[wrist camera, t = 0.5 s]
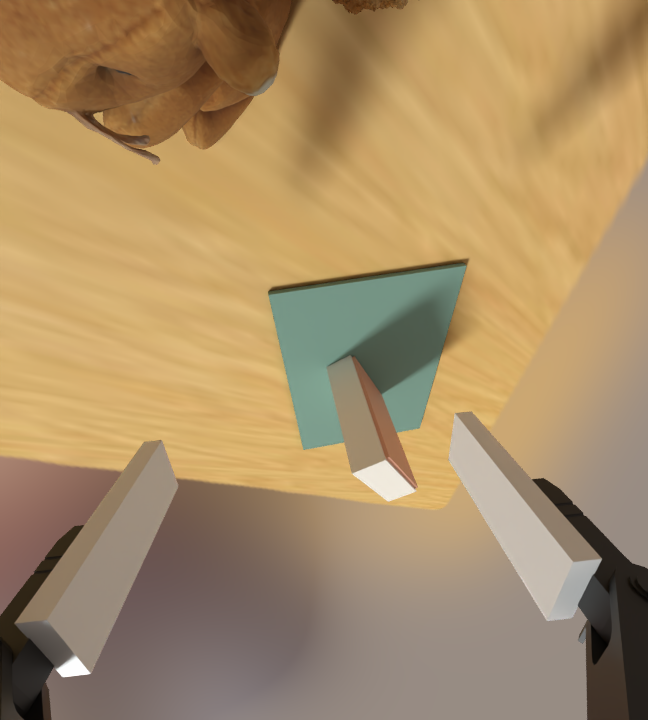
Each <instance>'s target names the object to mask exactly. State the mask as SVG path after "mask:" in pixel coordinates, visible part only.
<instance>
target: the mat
mask: <svg viewBox="0 0 648 720" xmlns="http://www.w3.org/2000/svg"><path fill="white" fill-rule="evenodd" d="M465 270H466V265H465V264H464V263H459V264H452V265H445V266H438V267H431V268H425V269H418V270H411V271H404V272H397V273H391V274H384V275H377V276H370V277H364V278H357V279H350V280H343V281H336V282H330V283H323V284H316V285H309V286H302V287H296V288H289V289H282V290H275V291H268V294H269V299H270V304H271V308H272V312H273V317H274V321H275V326H276V330H277V335H278V339H279V343H280V348H281V352H282V357H283V361H284V365H285V370H286V374H287V379H288V383H289V388H290V392H291V396H292V401H293V405H294V410H295V414H296V419H297V423H298V427H299V432H300V436H301V441H302V445H303V450H306V449H311V448H316V447H322V446H327V445H333V444H338V443H343V442H344V439H343V434H342V430H341V426H340V422H339V418H338V414H337V410H336V406H335V402H334V397H333V393H332V389H331V385H330V381H329V377H328V373H327V369H326V367H328V366H330V365H332V364H333V363H335V362H337V361H339V360H341V359H343V358H345V357H347V356H349V355H351V356H352V357H354V356H355V358H356V359H357V360H358V362H359V363H360V365H361V366H362V367H363V369H364V370H365V372H366V373H367V375H368V376H369V377H370V379H371V380H372V382H373V383H374V385H375V386H376V387H377V389H378V390H379V392H380V393H381V394H382V397H383V399H384V402H385V404H386V407H387V410H388V412H389V415H390V417H391V420H392V422H393V425H394V427H395V430H396V433H397V432H402V431H407V430H413V429H418V428H420V425H421V422H422V418H423V415H424V411H425V408H426V404H427V401H428V398H429V394H430V391H431V387H432V384H433V380H434V377H435V373H436V370H437V366H438V363H439V360H440V356H441V353H442V349H443V346H444V342H445V339H446V335H447V332H448V328H449V325H450V322H451V318H452V315H453V311H454V308H455V304H456V301H457V297H458V294H459V290H460V287H461V284H462V280H463V277H464V273H465Z"/></svg>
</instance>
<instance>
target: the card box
mask: <svg viewBox="0 0 648 720" xmlns="http://www.w3.org/2000/svg"><path fill="white" fill-rule="evenodd" d="M326 369H327V373H328V377H329V381H330V385H331V389H332V393H333V397H334V402H335V406H336V410H337V414H338V418H339V422H340V426H341V430H342V434H343V439H344V443H345V447H346V451H347V455H348V459H349V463H350V467H351V472H352V474H353V475H354V476H356V477H357V478H358V479H360V480H361V481H362V482H363V483H365V484H366V485H367V486H369V487H370V488H371V489H373V490H374V491H375V492H376V493H378V494H379V495H380V496H382V497H383V498H384V499H386V500H387V501H388V502H389V501H391V500H394V499H397V498H400V497H402V496H405V495H408V494H410V493H413V492H416V490H415V488H417V484H416V481H415V479H414V476H413V474H412V471H411V469H410V466H409V463H408V461H407V458H406V456H405V453H404V451H403V448H402V445H401V443H400V440H399V438H398V435H397V433H396V430H395V427H394V425H393V422H392V420H391V417H390V415H389V412H388V410H387V407H386V404H385V402H384V399H383V397H382V394H381V393H380V392H379V390H378V389H377V387H376V386H375V385H374V383H373V382H372V380H371V379H370V377H369V376H368V375H367V373H366V372H365V370H364V369H363V367H362V366H361V365H360V363H359V362H358V360H357V359H356V358H355V356H354V357H352V356H351V355H349V356H347V357H345V358H343V359H341V360H339V361H337V362H335V363H333V364H332V365H330V366H328V367H326Z"/></svg>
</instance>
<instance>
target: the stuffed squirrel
mask: <svg viewBox="0 0 648 720" xmlns="http://www.w3.org/2000/svg"><path fill="white" fill-rule="evenodd" d="M333 1H334V2H335V4H337V3H340V4H343V6H344V7H345V9H346V10H348V12H349V13H350V12H351V13H354V14H357V13H358V12H361V10H362V9H363V8H365V9H371V10H373V11H375V10H376V9H378V8H381V9H384V8H388V7H390V6H391V7H392V8H393V7H396V8H397V9H403V7H404V6H406V4H407V0H333ZM291 2H292V0H0V80H1V81H3V82H4V83H6V84H7V85H8V86H10V87H12V88H13V89H15V90H16V91H18V92H20V93H21V94H23V95H25V96H28V97H31V98H32V99H33V100H35V101H36V102H37V103H38V104H40V105H41V106H44V107H46V108H48V109H56V110H61V111H65V112H68V113H69V114H71V115H72V116H74V117H75V118H76V119H77V120H78V121H79V122H81V123H82V124H83V125H84V126H85V127H86V128H88V129H90V130H92V131H95V132H98V133H100V134H101V135H103V136H105V137H106V138H108V139H110V140H112V141H113V142H115V143H117V144H119V145H121V146H122V147H124V148H125V149H127V150H129V151H132V152H134V153H136V154H138V155H140V156H143V157H145V158H147V159H149V160H151V161H152V163H153V164H156V165H157V164H158V163H159V162H160V159H159V157H158V156H156V155H154V154H152V153H150V152H148V151H146V150H141V149H137V148H147V147H151V146H154V145H156V144H159V143H161V142H163V141H165V140H166V139H168V138H170V137H171V136H173V135H174V134H175V133H177V132H178V131H179V130H180V129H181V128H183V131H184V133H185V135H186V138H187V140H188V141H189V143H190V144H192V145H193V146H196V147H198V148H200V149H208V148H209V147H211V146H212V145H213V144H215V143H216V142H217V141H218V140H219V139H220V138H221V137H222V136H223V135H224V134H225V133H226V132H227V131H228V130H229V129H230V128H231V126H232V125H233V124H234V122H235V121H236V120H237V119H238V118H239V116H240V115H241V114H242V113H243V111H244V110H245V109H246V108H247V106H248V105H249V103H250V102H251V101H252V99H253V97H254V96H256V95H259V94H262V93H264V92H265V91H266V90H267V89H268V88H269V87H270V86H271V85H272V84H273V82H274V80H275V77H276V75H277V71H278V65H279V52H278V50H277V49H276V46H277V44H278V41H279V39H280V36H281V34H282V31H283V28H284V26H285V23H286V20H287V18H288V15H289V11H290V7H291ZM102 111H103V122H104V126H105V127H104V126H103V125H101V124H100V123H99V122H98V121H97V120H96V119H95V118H94V116H93V114H95V113H97V112H102ZM133 147H134V148H133Z"/></svg>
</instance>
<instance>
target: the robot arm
mask: <svg viewBox="0 0 648 720" xmlns="http://www.w3.org/2000/svg"><path fill="white" fill-rule="evenodd" d="M448 460H449V462H450V463H451V465H452V466H453V468H454V470H455V471H456V473H457V475H458V476H459V478H460V480H461V481H462V483H463V484H464V486H465V488H466V489H467V491H468V493H469V494H470V496H471V497H472V499H473V501H474V502H475V504H476V506H477V507H478V509H479V511H480V512H481V514H482V515H483V517H484V519H485V520H486V522H487V524H488V525H489V527H490V529H491V530H492V532H493V533H494V535H495V537H496V538H497V540H498V542H499V543H500V545H501V547H502V548H503V550H504V552H505V553H506V554H507V556H508V558H509V560H510V561H511V563H512V565H513V566H514V568H515V569H516V571H517V573H518V574H519V576H520V577H521V579H522V581H523V582H524V584H525V586H526V587H527V589H528V591H529V592H530V594H531V596H532V597H533V599H534V601H535V602H536V604H537V605H538V607H539V609H540V610H541V612H542V614H543V615H544V617H545V618H546V620H547V621H551V620H560V619H569V618H573V615H574V614H575V612H576V609H577V608H578V606H579V608H580V609H581V611H582V612H583V613H584V615H585V616H586V618H587V619H588V620H587V622H586V624H585V626H584V627H583V629H582V631H581V633H580V635H579V639H578V641H579V642H581V643H583V642H584V640H585V639H586V670H587V720H648V569H647V568H645V567H642V566H639V565H635V564H632V563H631V562H630V561H629V560H628V559H627V558H626V557H625V556H624V555H623V554H622V553H621V552H620V551H619V550H618V549H617V548H616V547H615V546H614V545H613V544H612V543H611V542H610V541H609V539H608V538H607V537H606V536H604V534H603V533H602V532H601V531H600V530H599V529H598V528H597V527H596V526H595V525H594V524H593V523H592V522H591V521H590V520H589V519H588V518H587V517H586V516H584V515H583V512H582V511H581V510H580V509H579V508H578V507H577V506H576V505H573V503H572V501H571V500H570V499H569V498H568V497H567V496H566V495H565V494H564V493H563V492H562V491H561V490H560V489H559V488H558V487H556V486H555V485H553V484H552V483H550V482H549V481H547V480H545V479H544V478H541V479H531V478H530V477H529V476H528V475H527V474H526V472H525V471H524V470H523V469H522V468H521V467H520V466H519V465H518V464H517V462H516V461H515V460H514V459H513V458H512V457H511V456H510V454H509V453H508V452H507V451H506V450H505V449H504V448H503V447H502V445H501V444H500V443H499V442H498V441H497V440H496V439H495V438H494V436H492V434H491V433H490V432H489V431H488V430H487V429H486V427H485V426H484V425H483V424H482V423H481V422H480V421H479V420H478V418H477V417H476V416H475V415H474V414H473V413H472V412H462V413H455V416H454V424H453V431H452V438H451V445H450V452H449V459H448ZM177 488H178V483H177V481H176V478H175V475H174V472H173V470H172V467H171V464H170V461H169V459H168V456H167V453H166V450H165V447H164V445H163V442H162V440H159V441H148V442H144V443H143V444H142V446H141V447H140V448H139V450H138V451H137V453H136V454H135V455H134V457H133V458H132V460H131V461H130V462H129V464H128V465H127V467H126V468H125V469H124V471H123V472H122V474H121V475H120V476H119V478H118V479H117V481H116V482H115V484H114V485H113V486H112V488H111V489H110V491H109V492H108V493H107V495H106V496H105V497H104V499H103V500H102V502H101V503H100V504H99V506H98V507H97V509H96V510H95V511H94V513H93V514H92V516H91V517H90V518H89V520H88V521H87V523H86V524H85V525H82V526H74V527H73V528H72V529H71V530H70V531H68V532H67V533H66V534H65V535H64V536H63V537H62V538H61V539H59V540H58V541H57V542H56V544H55V545H54V547H53V548H52V549H51V550H50V552H49V553H48V554H47V555H46V557H45V560H44V561H42V562H41V563H40V565H39V566H38V567H37V569H36V570H35V571H34V574H33V575H31V576H30V578H29V579H28V581H27V582H26V583H25V584H24V586H23V587H22V588H21V589H20V591H19V592H18V593H17V595H16V596H15V597H14V599H13V600H12V601H11V603H10V604H9V605H8V607H7V608H6V609H5V611H4V612H3V613H2V614H1V616H0V720H51V710H50V698H49V689H48V687H47V685H46V683H45V682H46V680H47V678H48V676H49V675H50V673H51V671H52V669H53V667H54V668H55V669H56V670H57V671H58V672H59V674H60V675H61V676H62V677H69V676H77V675H86V674H91V672H92V670H93V668H94V666H95V664H96V662H97V660H98V657H99V655H100V653H101V651H102V649H103V647H104V644H105V642H106V640H107V638H108V636H109V634H110V632H111V629H112V627H113V625H114V623H115V621H116V619H117V617H118V615H119V612H120V610H121V608H122V606H123V604H124V602H125V599H126V597H127V595H128V593H129V591H130V589H131V587H132V585H133V582H134V580H135V578H136V576H137V574H138V572H139V570H140V567H141V565H142V563H143V561H144V559H145V556H146V555H147V552H148V550H149V548H150V546H151V544H152V542H153V539H154V537H155V535H156V533H157V531H158V529H159V526H160V525H161V522H162V520H163V518H164V516H165V514H166V512H167V510H168V507H169V505H170V503H171V501H172V499H173V497H174V495H175V492H176V490H177Z"/></svg>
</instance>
